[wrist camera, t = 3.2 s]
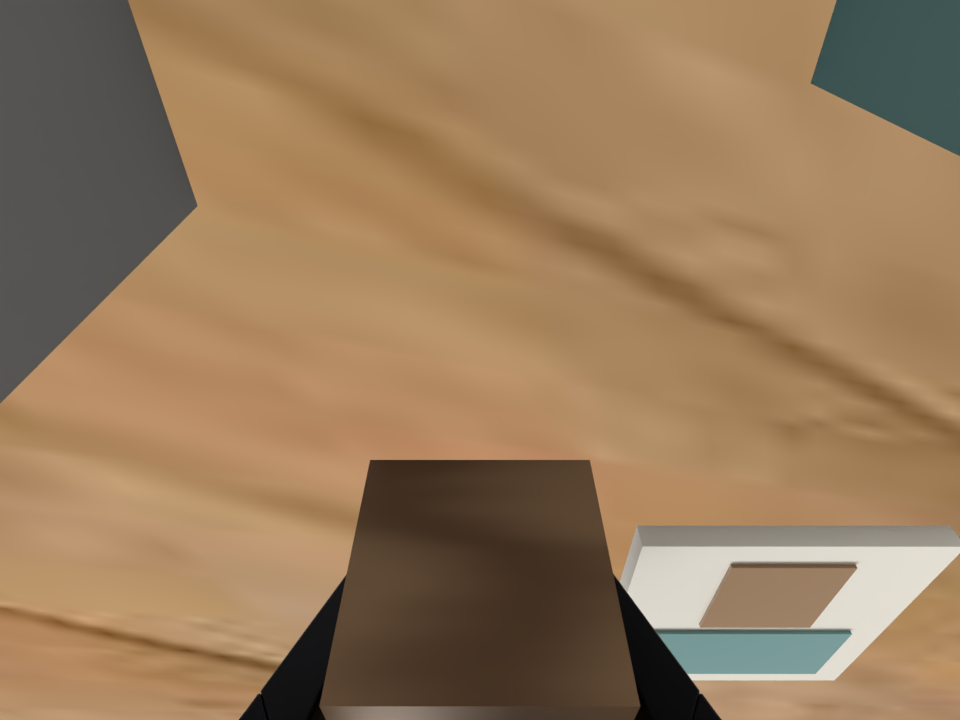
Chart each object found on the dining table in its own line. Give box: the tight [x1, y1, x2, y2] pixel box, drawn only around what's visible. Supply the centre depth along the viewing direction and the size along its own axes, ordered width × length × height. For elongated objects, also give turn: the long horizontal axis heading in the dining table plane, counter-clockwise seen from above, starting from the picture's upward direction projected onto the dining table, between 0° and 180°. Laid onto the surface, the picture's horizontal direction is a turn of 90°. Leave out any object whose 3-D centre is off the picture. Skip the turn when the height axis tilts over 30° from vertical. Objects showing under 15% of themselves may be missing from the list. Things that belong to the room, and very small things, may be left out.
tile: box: [620, 526, 960, 680], centre depth 16 cm, size 8×8×1 cm
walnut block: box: [319, 460, 640, 720], centre depth 12 cm, size 5×5×5 cm
